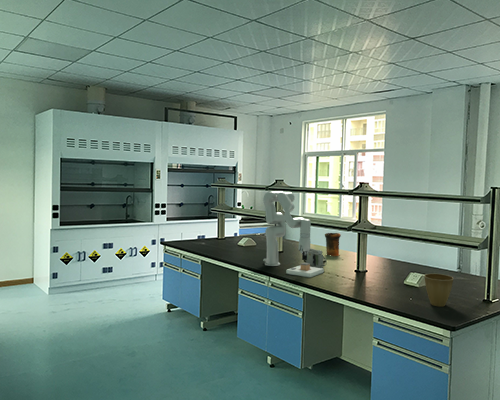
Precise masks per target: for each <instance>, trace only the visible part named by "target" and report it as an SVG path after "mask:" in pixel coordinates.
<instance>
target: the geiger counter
mask: <svg viewBox="0 0 500 400" xmlns="http://www.w3.org/2000/svg"><path fill="white" fill-rule="evenodd" d="M324 261H325V264H324ZM305 263H310V267H316V268H322V269H324V267H326V265H327V263H328V262H327V259H326V258H325V257H324V254H323V251H322V250H321V249H315V248H312V247H310V250H309V251H308V253H307V260H305Z"/></svg>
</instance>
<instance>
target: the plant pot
mask: <svg viewBox="0 0 500 400" xmlns="http://www.w3.org/2000/svg"><path fill="white" fill-rule="evenodd" d="M424 283H425V289H426V292H427V298H428V300H429V303H430V305H432V306H434V307H445V306H446V304H447V302H448V299H449V297H450V295H451V291H452V287H453V283H454V277H453V276H452V275H448V274H443V273H426V274H424Z"/></svg>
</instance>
